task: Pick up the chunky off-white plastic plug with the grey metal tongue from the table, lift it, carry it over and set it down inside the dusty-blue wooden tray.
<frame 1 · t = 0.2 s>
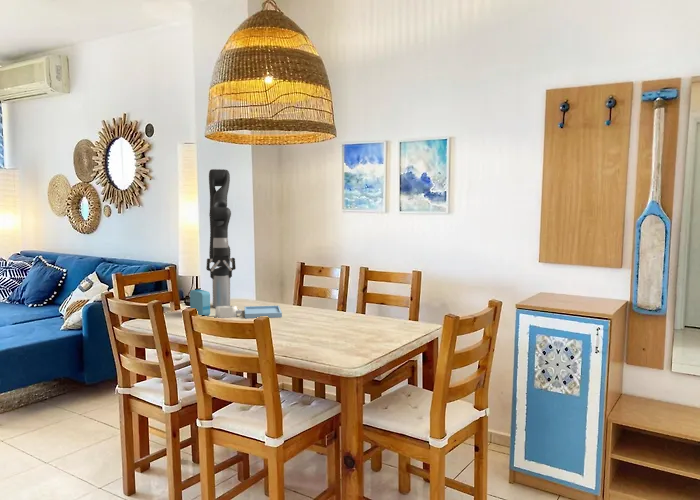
hand: (221, 278, 276), 18 cm above the table, tool pointing down, fingers open, 8 cm apart
blue tray: (262, 313, 277), on the table
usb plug: (226, 316, 269), on the table
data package: (200, 314, 273), on the table
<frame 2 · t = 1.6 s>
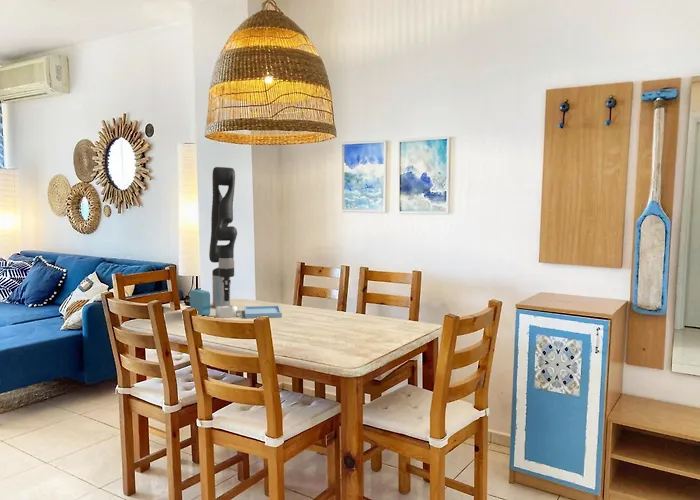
hand: (226, 299, 268), 9 cm above the table, tool pointing down, fingers open, 8 cm apart
nothing on the table moved.
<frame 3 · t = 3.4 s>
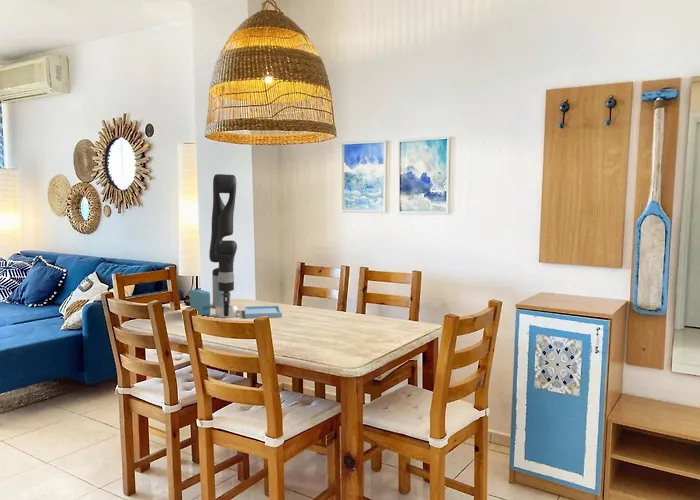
hand: (226, 314, 269), 1 cm above the table, tool pointing down, fingers closed on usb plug, 4 cm apart
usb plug: (226, 316, 269), on the table, touching gripper
everything else where it was.
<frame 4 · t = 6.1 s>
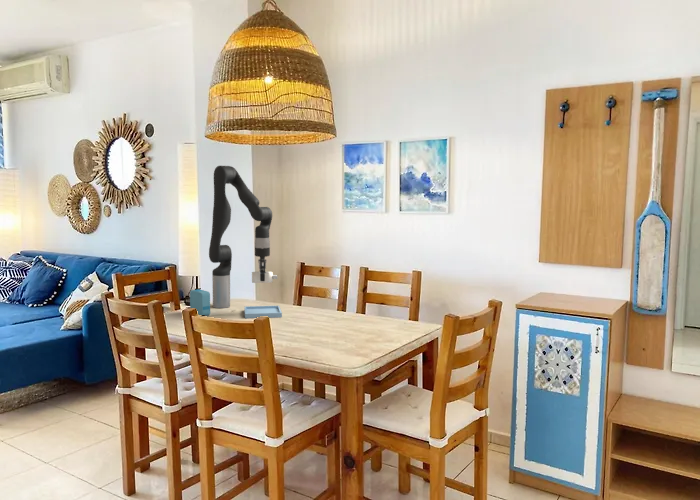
hand: (262, 280, 275), 17 cm above the table, tool pointing down, fingers closed on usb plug, 4 cm apart
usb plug: (262, 282, 275), point 16 cm above the table, touching gripper
everything else where it was.
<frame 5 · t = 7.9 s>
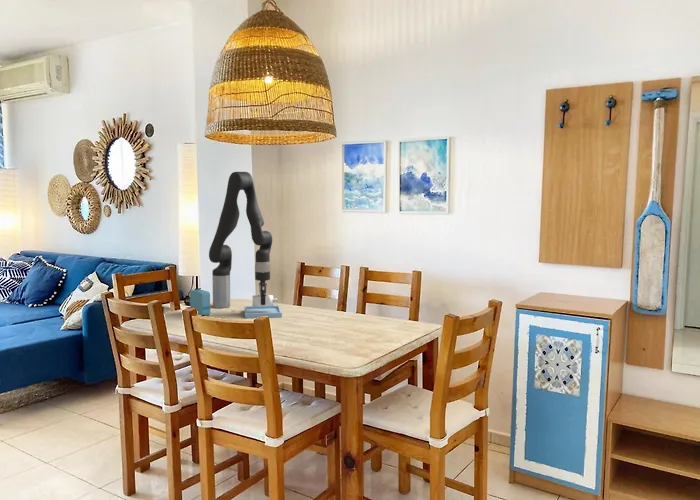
hand: (262, 303, 276), 5 cm above the table, tool pointing down, fingers closed on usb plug, 4 cm apart
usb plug: (262, 305, 276), point 4 cm above the table, touching gripper
everything else where it was.
when the fingers open (3 cm above the table, at t = 9.1 s): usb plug drops 1 cm, resting on blue tray.
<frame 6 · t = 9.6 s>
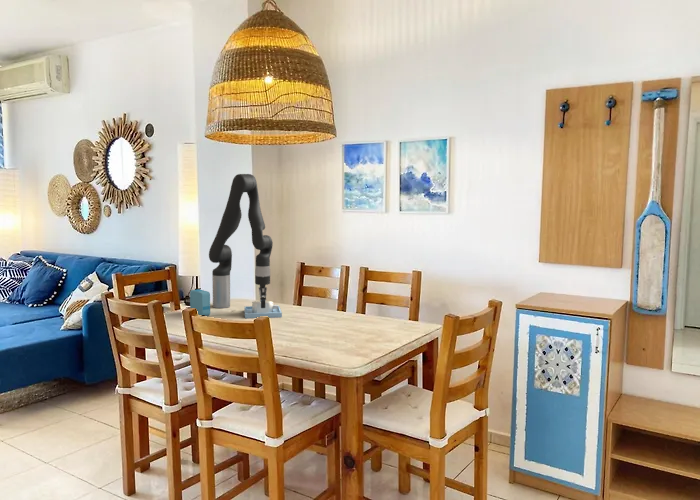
hand: (262, 306, 276), 4 cm above the table, tool pointing down, fingers open, 8 cm apart
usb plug: (262, 311, 277), point 1 cm above the table, touching blue tray
everything else where it was.
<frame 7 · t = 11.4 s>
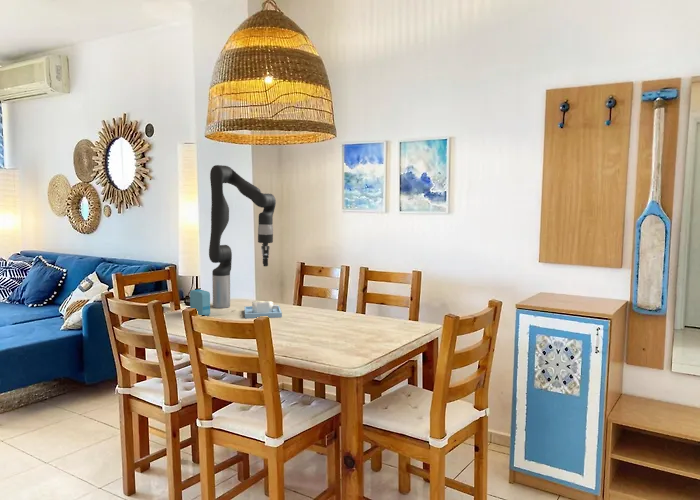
hand: (265, 265, 275), 25 cm above the table, tool pointing down, fingers open, 8 cm apart
nothing on the table moved.
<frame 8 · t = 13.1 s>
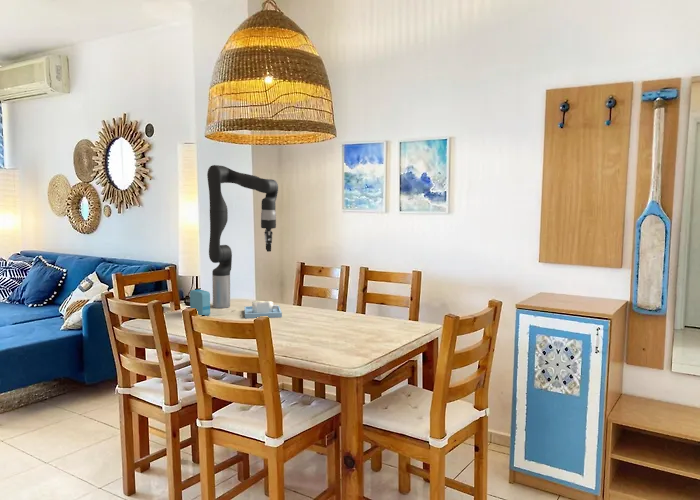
hand: (268, 250, 277), 32 cm above the table, tool pointing down, fingers open, 8 cm apart
nothing on the table moved.
at the end: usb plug inside the target area on the blue tray (0.1 cm from its centre), point 1.0 cm above the blue tray's base; the gripper is holding nothing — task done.
